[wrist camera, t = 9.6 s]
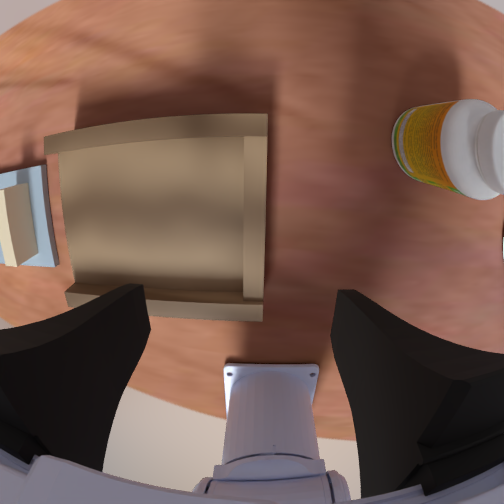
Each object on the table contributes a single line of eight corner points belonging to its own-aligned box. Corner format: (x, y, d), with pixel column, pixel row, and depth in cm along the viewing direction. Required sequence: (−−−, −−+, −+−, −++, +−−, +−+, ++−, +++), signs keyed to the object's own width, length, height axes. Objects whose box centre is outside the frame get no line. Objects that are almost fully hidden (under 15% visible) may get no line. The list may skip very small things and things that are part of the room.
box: (262, 294, 21) (262, 321, 18) (90, 285, 22) (68, 306, 18) (266, 120, 17) (267, 113, 14) (73, 135, 18) (44, 136, 14)
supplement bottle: (398, 188, 19) (488, 227, 9) (380, 113, 17) (469, 96, 8) (455, 173, 18) (549, 201, 9) (441, 103, 16) (536, 94, 7)
